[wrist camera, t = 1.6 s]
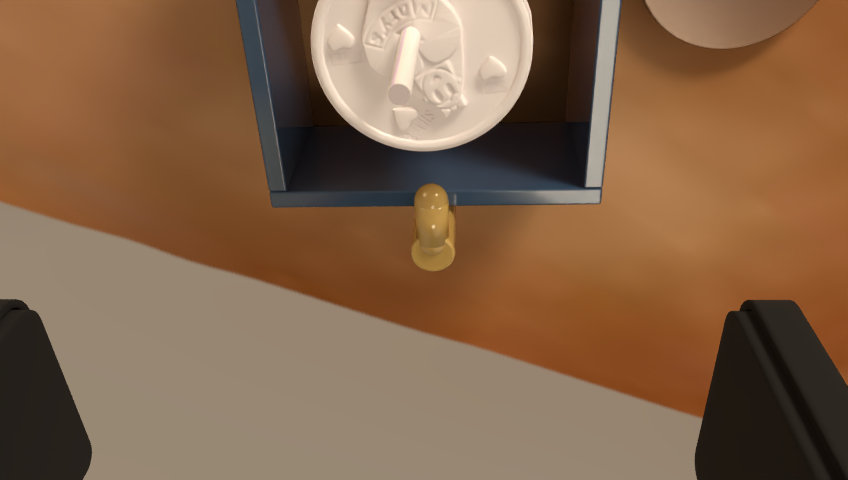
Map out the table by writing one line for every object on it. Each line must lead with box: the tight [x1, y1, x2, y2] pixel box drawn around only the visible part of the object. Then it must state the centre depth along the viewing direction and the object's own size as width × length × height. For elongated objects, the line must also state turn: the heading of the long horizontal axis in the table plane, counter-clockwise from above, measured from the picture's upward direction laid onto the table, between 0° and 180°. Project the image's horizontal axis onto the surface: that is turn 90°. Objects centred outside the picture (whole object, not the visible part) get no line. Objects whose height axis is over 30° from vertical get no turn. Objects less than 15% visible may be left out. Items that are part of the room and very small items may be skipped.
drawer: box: [236, 0, 622, 271], centre depth 26 cm, size 16×12×8 cm
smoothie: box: [311, 0, 533, 151], centre depth 23 cm, size 6×6×14 cm
